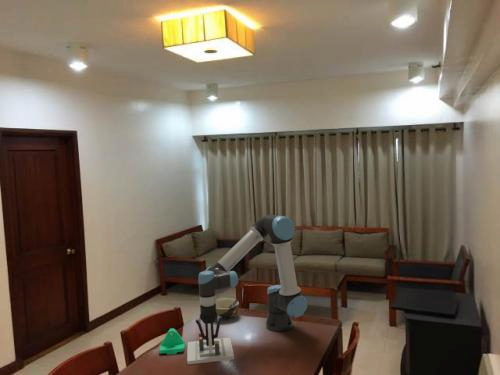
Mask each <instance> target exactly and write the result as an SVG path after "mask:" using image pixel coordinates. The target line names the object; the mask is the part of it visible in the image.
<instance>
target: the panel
mask: <svg viewBox="0 0 500 375" xmlns="http://www.w3.org/2000/svg"><path fill="white" fill-rule="evenodd" d="M216 341H218V342H219V352H220V354H216V355H215V342H216ZM203 346H204V350H200V347H199V340H195V341H188V342H187V354H186V356H187V357H186V362H187V365H188V366H189V365H195V364H196V365H197V364H204V363H205V364H206V363H213V362H224V361H231V360H235V355H234V350H233V346H232V342H231V337H223V338H215V339H214V346H212V353H211V354H209V346H206V340H205V339H203Z"/></svg>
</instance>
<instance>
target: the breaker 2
mask: <svg viewBox="0 0 500 375" xmlns="http://www.w3.org/2000/svg"><path fill="white" fill-rule="evenodd" d="M216 354H220V352H219V342H218V341H216V342H215V355H216Z"/></svg>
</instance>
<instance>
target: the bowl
mask: <svg viewBox="0 0 500 375" xmlns="http://www.w3.org/2000/svg"><path fill="white" fill-rule="evenodd" d="M215 304H216V313H217V315H218V316H221V317H222V320H228V319H230V318H233V317H235V316H237V315H238V314H239V312H240V310H239V304H240V302H239V300H238V299H237V298H236V299H235V298H232V297H231V298H230V297H223V298H218V299H216V303H215ZM234 311H235V312H234Z"/></svg>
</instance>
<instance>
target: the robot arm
mask: <svg viewBox="0 0 500 375" xmlns="http://www.w3.org/2000/svg"><path fill="white" fill-rule="evenodd" d="M295 232H296V227H295V223H294V221H293V220H292V219H291V218H289V217H287V216H285V215H276V214H266V215H264V216H262V217H261V218H259V219H257V220H256V221H255V222H254V224H252V225H251V226H250V227H249V231H248V232H247V233H246V234H244V235H243V237H241V239H240V240H239V241H238V242H236V244H235V245H234V246H232V248H230V249H229V250H228V251H227V253H225V254H224V255H223V256H222V257H221V258H220V259H219V260H218V261H217V262H216V263H215V264H214V265H210V266H208V267H206V269H205V270H203V271H201V272H198V273H199V274H198V277H197V278H198V279H197V280H198V281H197V282H198V288H199V289H198V291H199V292H198V293H199V304H200V306H199V310H200V314H199V317H198V318H195V323H196V325H197V328H198V329H199V332H200V333H201V336H202V339H203V340H206V346H209V354H211V353H212V346H214V339H218V337H219V331H220V325H221V322H222V320H223V319H222V317H221V316H218V315H217V313H216V304H215V303H216V291H219V290H223V289H229V288H233V287H236V286H237V285H238V284H239V277H238V276H239V275H238V273H237V272H236V271H234V270H231V269H233V268H234V267H235V265H237V264H238V262H240V261H241V260H242V259H243V258H244V257H245V256H246V255H247V254H249V252H250V251H251V250H252V249H253V248H254V247H255V246H256V245H257V244H258V243H260V242H263V241H264V240H265V238H267V237H268V238H269V241H270V244H271V245H272V246H273V247H274V253H275V260H276V266H277V270H278V271H277V272H278V277H279V281H280V284H276V285H271V286H269V287H267V291H266V292H267V293H266V295H267V306H268V307H267V317H266V321H265V327H266V329H267V330H269V331H271V332H285V331H286V332H287V331H289V330H291V329H292V328H293V326H294V323H293V319H292V317H293V318H299V317H301V316H302V315H304V313H305V312H306V310H307V308H308V302H307V299H306V297H305V296H303V295H302V289H301V287H300V286H298V282H297V277H296V276H297V275H296V269H295V263H294V259H293V258H294V257H293V251H292V245H291V243H292V242H293V236H294V234H295ZM216 321H217V322H216ZM214 322H216V327H215V330H214ZM202 323H204V326H205V327H204V328H205V332H204V329H203V327H202ZM208 324H210V336H211V337H209V325H208ZM214 331H215V333H214Z"/></svg>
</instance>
